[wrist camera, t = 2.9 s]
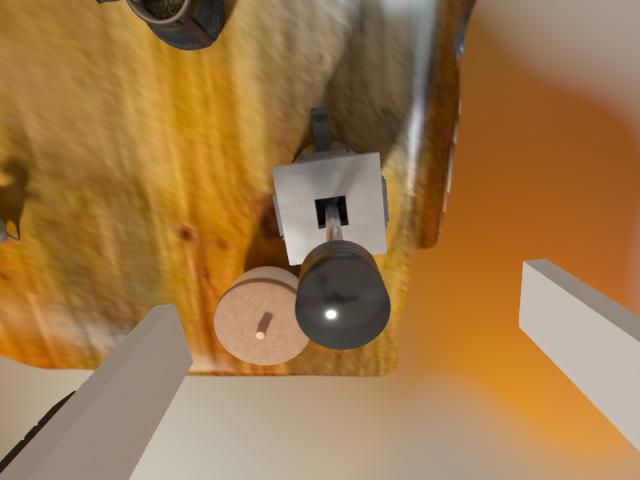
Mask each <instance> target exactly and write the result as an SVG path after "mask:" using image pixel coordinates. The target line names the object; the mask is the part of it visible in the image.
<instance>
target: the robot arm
mask: <svg viewBox="0 0 640 480" xmlns="http://www.w3.org/2000/svg"><path fill="white" fill-rule="evenodd" d="M519 327H520V328H521V329H522V330H523V331H524V332H525V333H526V334H527V335H528V336H529V337H530V338H531V339H532V340H533V341H534V342H535V343H536V344H537V345H538V346H539V347H540V349H542V351H544V353H545V354H546V355H547V356H548V357H549V358H550V359H551V360H552V361H553V362H554V363H555V364H556V365H557V366H558V367H559V368H560V369H561V370H562V371H563V372H564V373H565V375H566V376H567V377H568V378H569V379H570V380H571V381H572V382H573V383H574V384H575V385H576V386H577V387H578V388H579V389H580V390H581V391H582V392H583V393H584V394H585V395H586V396H587V397H588V399H590V401H592V403H593V404H594V405H595V406H596V407H597V408H598V409H599V410H600V411H601V412H602V413H603V414H604V415H605V416H606V417H607V418H608V419H609V420H610V421H611V422H612V424H613V425H615V427H616V428H617V429H618V430H619V431H620V432H621V433H622V434H623V435H624V436H625V437H626V438H627V439H628V440H629V441H630V442H631V443H632V444H633V445H634V446H635V447H636V448H637V449H638V451H639V452H640V317H639V316H637V315H636V314H634V313H632V312H631V311H629V310H628V309H626V308H624V307H623V306H621V305H619V304H618V303H616V302H615V301H613V300H611V299H610V298H608V297H607V296H605V295H603V294H602V293H600V292H598V291H597V290H595V289H593V288H592V287H590V286H589V285H587V284H585V283H584V282H582V281H580V280H579V279H577V278H575V277H574V276H572V275H571V274H569V273H567V272H566V271H564V270H563V269H561V268H559V267H558V266H556V265H554V264H553V263H551V262H550V261H548V260H546V259H540V260H532V261H524V263H523V275H522V289H521V302H520V315H519ZM192 363H193V359H192V356H191V353H190V350H189V347H188V344H187V341H186V338H185V335H184V332H183V329H182V326H181V323H180V320H179V317H178V314H177V311H176V308H175V305H174V304H166V305H158V306H154V307H153V308H152V310H151V311H150V312H149V313H148V314H147V315H146V316H145V317H144V318H143V319H142V320H141V321H140V323H139V324H138V325H137V326H136V327H135V328H134V329H133V330H132V331H131V332H130V333H129V335H128V336H127V337H126V338H125V339H124V340H123V341H122V342H121V343H120V344H119V345H118V346H117V348H116V349H115V350H114V351H113V352H112V353H111V354H110V355H109V356H108V357H107V358H106V359H105V361H104V362H103V363H102V364H101V365H100V366H99V367H98V368H97V369H96V370H95V371H94V373H93V374H92V375H91V376H90V377H89V378H88V379H87V380H86V381H85V382H84V383H83V384H82V386H81V387H80V388H79V389H78V390H77V391H73V392H72V393H70V394H69V395H68V396H66V397H65V398H64V399H62V400H61V401H60V402H58V403H57V404H56V405H54V406H53V407H52V408H51V409H50V410H49V411H48V412H47V413H46V415H45V416H44V417H43V418H42V419H41V420H40V421H39V422H38V425H37V426H34V427H33V428H32V429H31V431H29V432H28V433H27V434H26V436H25V438H24V440H21V441H20V442H19V443H18V444H17V445H16V446H15V447H14V448H13V449H12V450H11V451H10V452H9V453H8V454H7V455H6V457H5V458H4V459H3V460H2V461H1V462H0V480H129V478H130V476H131V474H132V472H133V471H134V469H135V467H136V465H137V463H138V462H139V460H140V458H141V456H142V454H143V452H144V451H145V449H146V447H147V445H148V443H149V441H150V440H151V438H152V436H153V434H154V432H155V430H156V429H157V427H158V425H159V423H160V421H161V419H162V418H163V416H164V414H165V412H166V410H167V408H168V407H169V405H170V403H171V401H172V399H173V398H174V396H175V394H176V392H177V390H178V388H179V386H180V385H181V383H182V381H183V379H184V377H185V376H186V374H187V372H188V370H189V368H190V366H191V365H192Z"/></svg>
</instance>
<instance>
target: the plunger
mask: <svg viewBox="0 0 640 480" xmlns="http://www.w3.org/2000/svg"><path fill="white" fill-rule="evenodd" d="M315 203H316V210H317V217H318V223H319V225H325V224H326V240H327V242H325V243H323V244H320V245H318V246H317V247H315V248H314V249H313V250H312V251H310V252H309V254H308V255H307V256H306V257H305V259H304V261H303V263H302V265H301V269H300V274H299V281H298V288H297V295H296V302H295V316H296V320H297V323H298V325H299V327H300V328H301V330H302V331H303V333H304V334H305V335H306V336H307V337H308V338H309V339H311V340H312V341H313V342H315V343H317V344H319V345H321V346H323V347H326V348H330V349H337V350H346V349H353V348H357V347H360V346H363V345H365V344H367V343H369V342H371V341H372V340H373V339H375V338H376V337H377V336H378V335H379V334H380V333H381V332H382V331H383V329H384V328H385V326H386V324H387V322H388V319H389V316H390V299H389V296H388V293H387V290H386V288H385V285H384V282H383V280H382V277H381V274H380V272H379V269H378V267H377V264H376V262H375V260H374V258H373V256H372V255H371V254H370V253H369V252H368V251H367V250H366V249H365V248H364V247H362V246H361V245H359V244H357V243H354V242H351V241H346V240H343V235H342V230H341V224H340V222H347V221H348V218H347V209H346V200H345V195H344V196H337V197H330V198H322V199H315Z"/></svg>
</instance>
